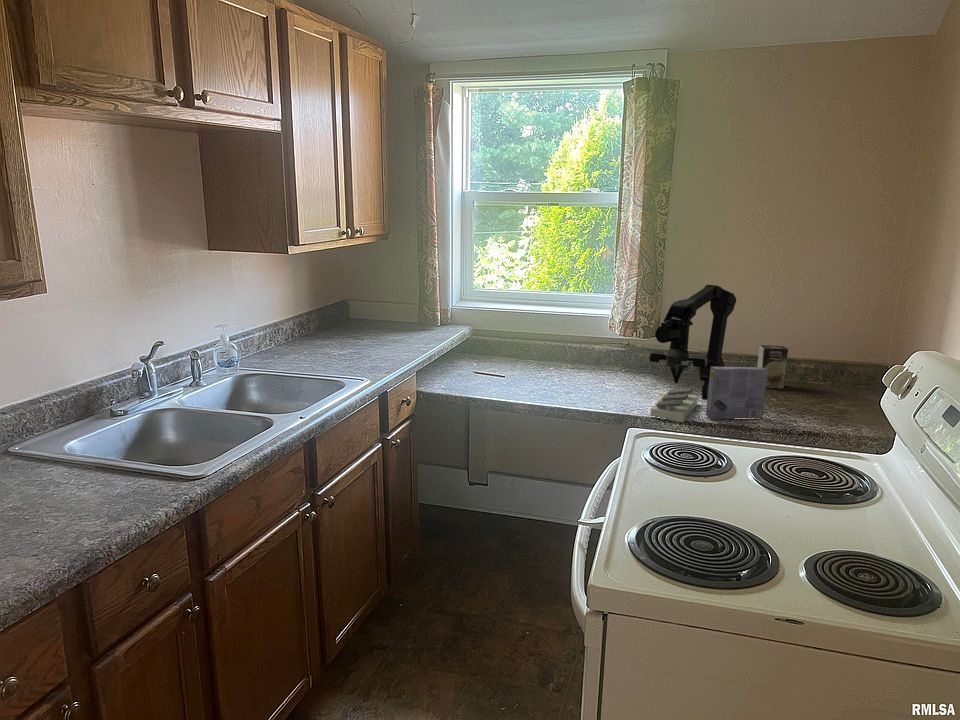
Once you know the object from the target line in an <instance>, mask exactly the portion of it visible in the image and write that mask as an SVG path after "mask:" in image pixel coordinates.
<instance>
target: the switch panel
mask: <svg viewBox="0 0 960 720" xmlns="http://www.w3.org/2000/svg"><path fill="white" fill-rule="evenodd" d="M668 392H669V391H666V392H665V393H664V395H662V397H661V398H660V399H659V400H657V402H656V403H655V404H654V405H653V406H652V407H651V408H650V416H655V417H660V418H665V419H669V420H668V421H671V420H672V421H673V422H679V423H684V422H685V421H684V420H686V419H687V418H688V417H689V416H690V414H691V413H692V411H693V410H694V409H695V407H696V406H697V405H698V395H692V394H688V398H687V399H686V400H683V404H682V405H681V406H674V407H670V406H666V407H657V406H656V404H657V403H658V402H659V401H662V398H663V397H664V396H665V395H668V394H667V393H668ZM677 395H682V394H677ZM672 401H677V400H672ZM693 408H694V409H693ZM690 412H691V413H690ZM650 416H649V417H650ZM687 416H688V417H687ZM686 417H687V418H686Z"/></svg>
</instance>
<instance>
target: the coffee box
mask: <svg viewBox="0 0 960 720" xmlns="http://www.w3.org/2000/svg"><path fill="white" fill-rule="evenodd" d="M788 354H789V349H788V347H786V346H783V345H769V344H759V350H758V358H757V365H756V367H762V368H765V369H768V374H767V382H766V389H773V388H778V389H779V390H783V389H784V385H785V377H786V368H787V361H788Z"/></svg>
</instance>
